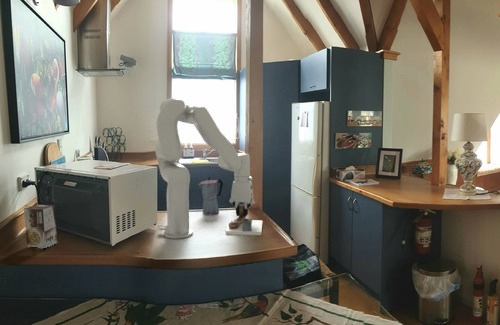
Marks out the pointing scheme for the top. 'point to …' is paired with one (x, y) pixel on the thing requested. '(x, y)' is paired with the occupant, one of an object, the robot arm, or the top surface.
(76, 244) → the top surface
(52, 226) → the coffee box
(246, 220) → the keeper
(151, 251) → the top surface
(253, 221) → the base plate
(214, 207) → the moka pot
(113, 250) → the top surface
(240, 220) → the walnut link
